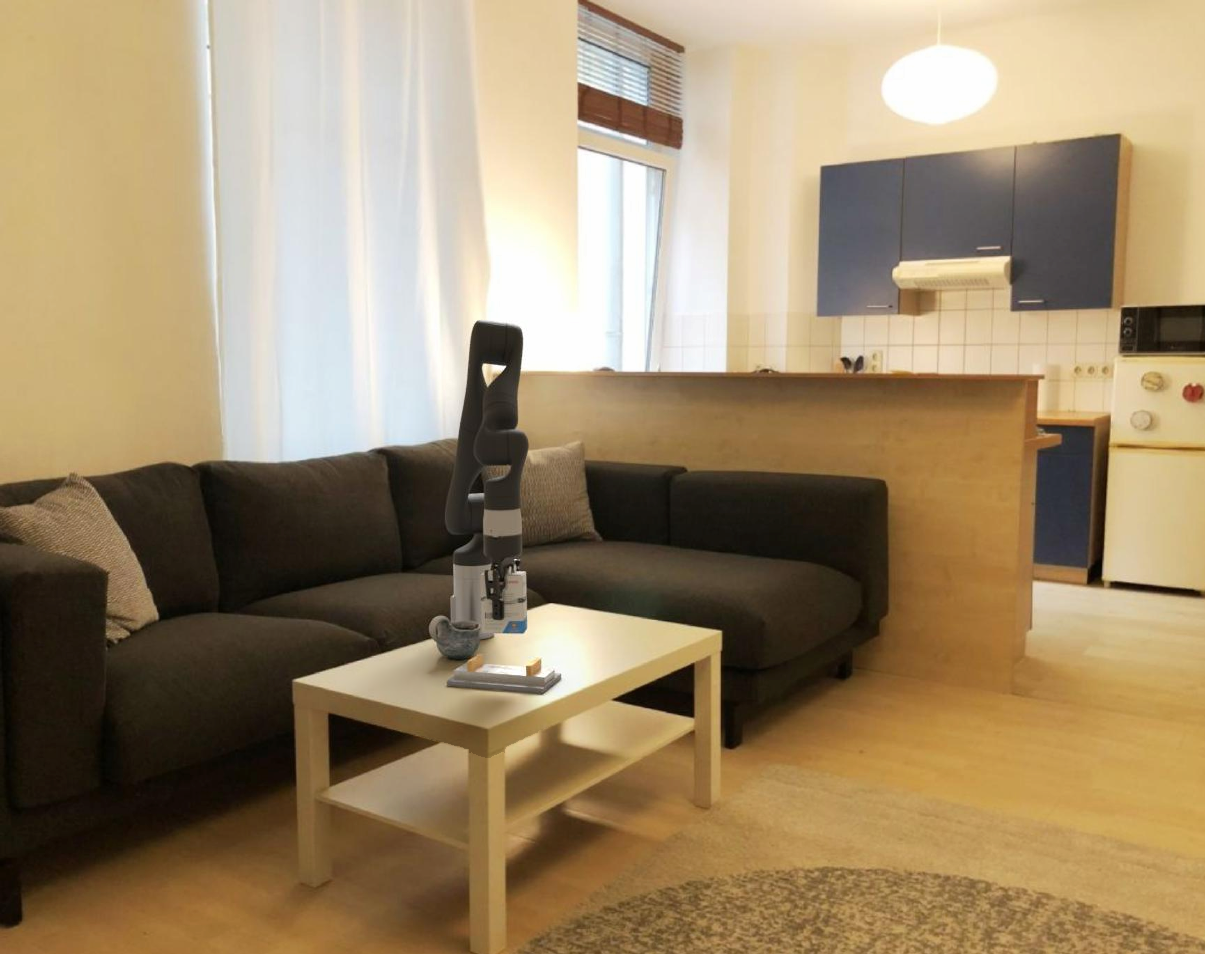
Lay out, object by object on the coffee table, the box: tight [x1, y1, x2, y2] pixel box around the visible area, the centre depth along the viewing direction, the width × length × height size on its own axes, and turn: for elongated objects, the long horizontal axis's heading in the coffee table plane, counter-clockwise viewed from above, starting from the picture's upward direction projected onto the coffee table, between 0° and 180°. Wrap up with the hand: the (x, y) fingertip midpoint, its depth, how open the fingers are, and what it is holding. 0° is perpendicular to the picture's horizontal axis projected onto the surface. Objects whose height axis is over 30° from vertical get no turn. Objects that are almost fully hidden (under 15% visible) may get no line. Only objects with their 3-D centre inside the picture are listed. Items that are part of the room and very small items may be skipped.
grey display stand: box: [446, 653, 562, 695], centre depth 220 cm, size 20×11×4 cm, turn 73°
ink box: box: [480, 570, 528, 635], centre depth 219 cm, size 8×5×12 cm, turn 85°
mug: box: [428, 615, 481, 660], centre depth 238 cm, size 10×12×10 cm
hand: (504, 615), depth 219 cm, fingers closed on ink box, 5 cm apart
